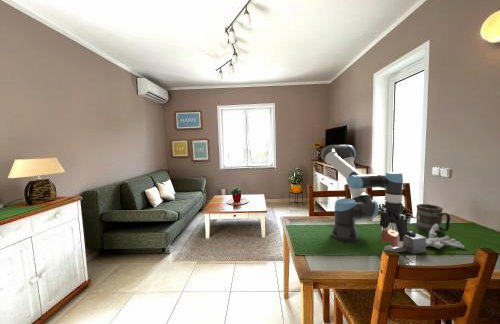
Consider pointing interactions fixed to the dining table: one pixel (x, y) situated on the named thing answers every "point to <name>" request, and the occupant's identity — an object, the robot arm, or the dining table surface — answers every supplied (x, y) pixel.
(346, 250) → the dining table surface
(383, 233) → the red notched block
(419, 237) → the hitch
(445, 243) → the white irregular jagged piece
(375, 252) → the dining table surface
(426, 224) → the mug
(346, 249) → the dining table surface
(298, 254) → the dining table surface
